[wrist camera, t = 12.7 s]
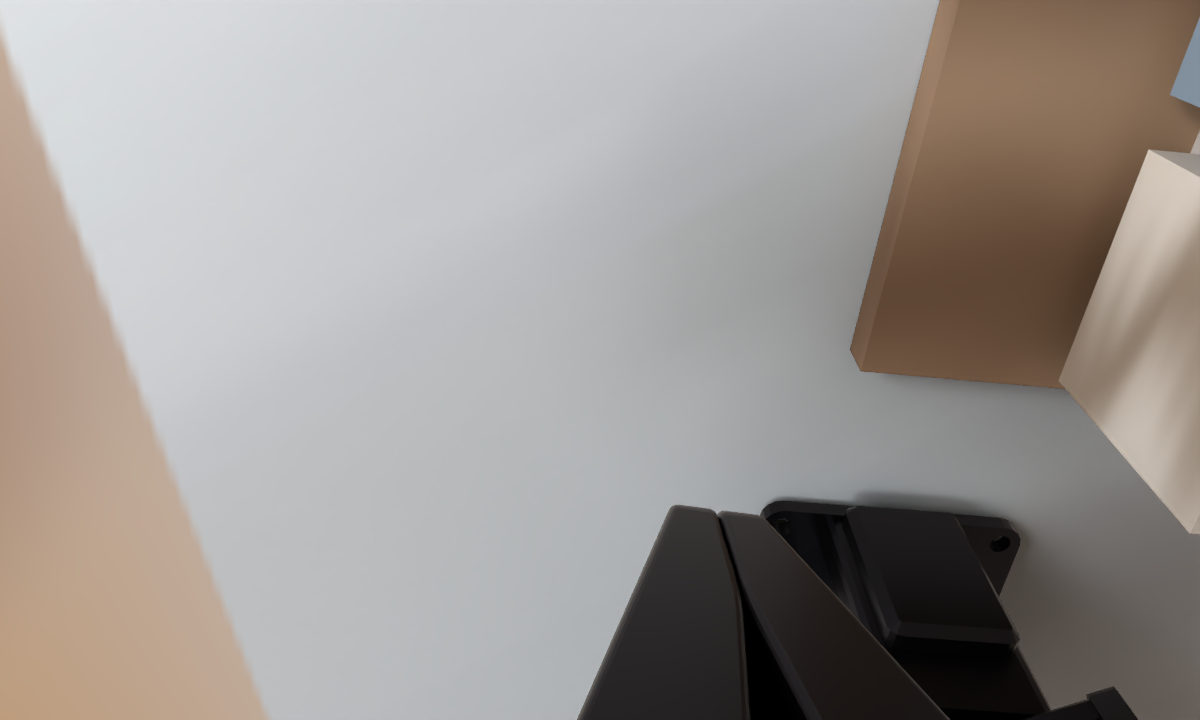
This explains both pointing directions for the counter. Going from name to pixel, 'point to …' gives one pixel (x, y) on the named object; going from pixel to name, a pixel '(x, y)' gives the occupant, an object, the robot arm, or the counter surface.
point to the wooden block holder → (1053, 222)
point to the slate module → (1189, 72)
